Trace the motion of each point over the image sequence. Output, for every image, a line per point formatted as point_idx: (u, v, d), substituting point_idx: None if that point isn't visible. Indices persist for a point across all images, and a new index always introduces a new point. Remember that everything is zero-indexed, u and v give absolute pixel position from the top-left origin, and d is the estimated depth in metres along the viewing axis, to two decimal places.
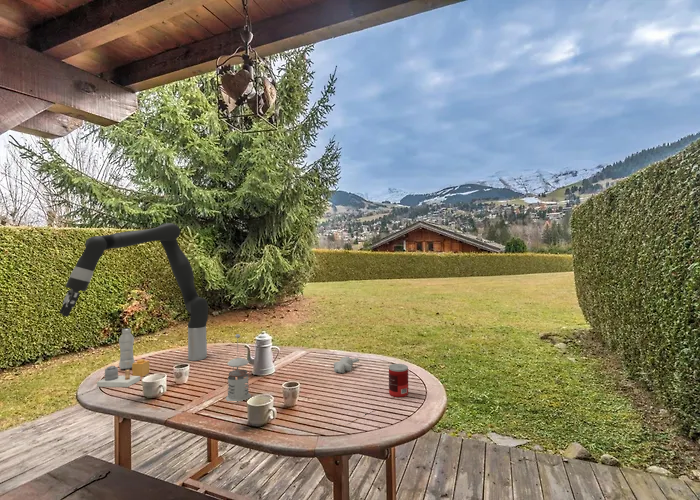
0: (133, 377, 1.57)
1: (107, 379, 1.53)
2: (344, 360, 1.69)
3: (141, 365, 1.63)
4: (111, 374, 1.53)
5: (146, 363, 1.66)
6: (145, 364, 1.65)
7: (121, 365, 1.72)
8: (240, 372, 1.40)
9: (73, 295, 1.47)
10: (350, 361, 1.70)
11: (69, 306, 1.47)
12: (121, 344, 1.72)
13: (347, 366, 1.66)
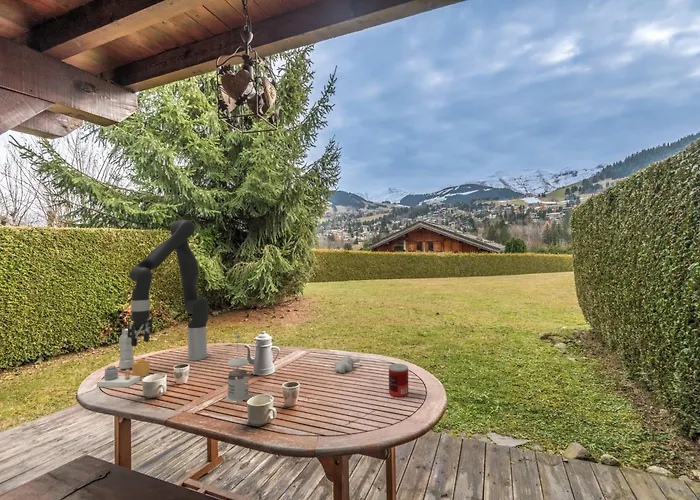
0: (133, 377, 1.57)
1: (107, 379, 1.53)
2: (345, 360, 1.69)
3: (141, 365, 1.63)
4: (111, 374, 1.53)
5: (146, 363, 1.66)
6: (145, 364, 1.65)
7: (121, 365, 1.72)
8: (240, 372, 1.40)
9: (129, 327, 1.59)
10: (351, 361, 1.70)
11: (130, 337, 1.60)
12: (121, 344, 1.72)
13: (348, 366, 1.66)
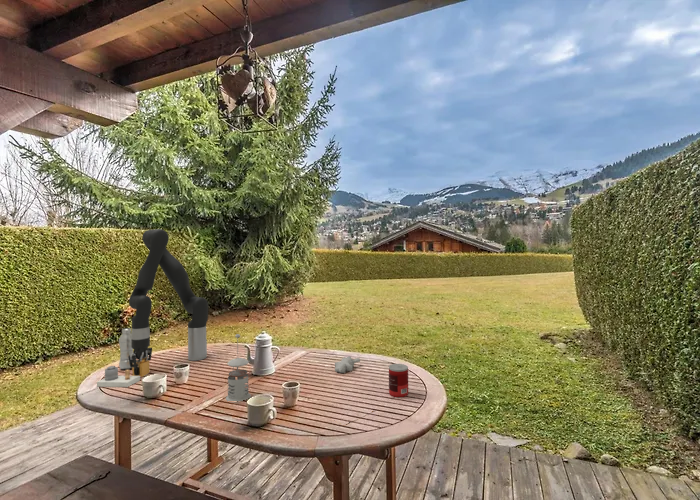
0: (133, 377, 1.57)
1: (107, 379, 1.53)
2: (345, 360, 1.70)
3: (141, 365, 1.63)
4: (111, 374, 1.53)
5: (146, 363, 1.66)
6: (145, 364, 1.65)
7: (121, 365, 1.72)
8: (240, 372, 1.40)
9: (129, 358, 1.59)
10: (351, 361, 1.70)
11: None
12: (121, 344, 1.72)
13: (348, 366, 1.66)
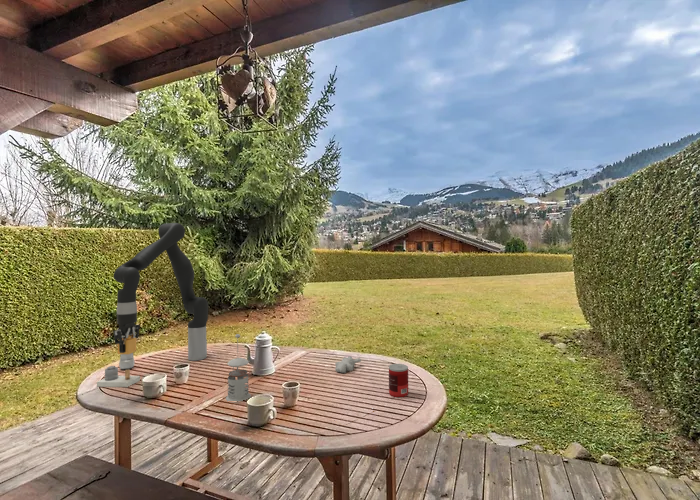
0: (133, 377, 1.57)
1: (107, 379, 1.53)
2: (346, 360, 1.70)
3: (127, 342, 1.52)
4: (111, 374, 1.53)
5: (133, 340, 1.55)
6: (131, 341, 1.54)
7: (121, 365, 1.72)
8: (240, 372, 1.40)
9: (114, 334, 1.48)
10: (352, 361, 1.70)
11: (118, 343, 1.50)
12: None
13: (349, 366, 1.66)
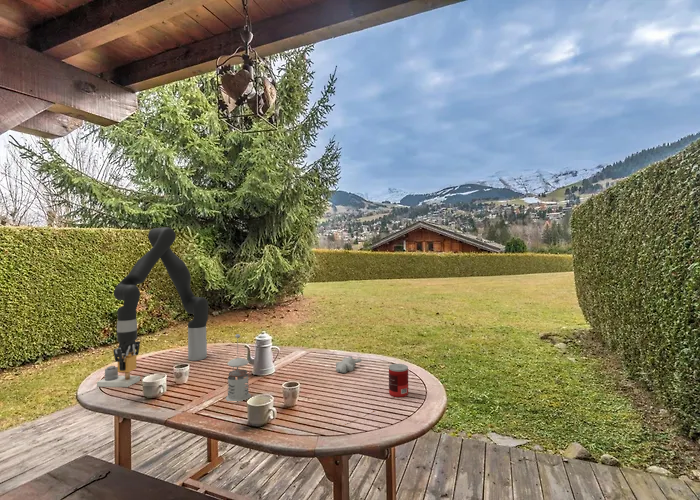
0: (133, 377, 1.57)
1: (107, 379, 1.53)
2: (346, 360, 1.70)
3: (127, 360, 1.52)
4: (111, 374, 1.53)
5: (133, 358, 1.55)
6: (131, 359, 1.54)
7: None
8: (240, 372, 1.40)
9: (114, 352, 1.48)
10: (352, 361, 1.70)
11: (118, 361, 1.50)
12: None
13: (349, 366, 1.66)
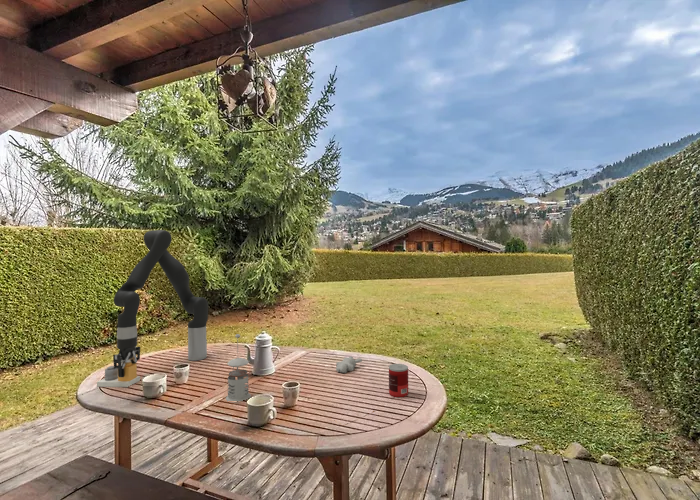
0: None
1: (107, 379, 1.53)
2: (347, 360, 1.70)
3: (127, 369, 1.52)
4: (111, 374, 1.53)
5: (133, 366, 1.55)
6: (132, 368, 1.54)
7: (121, 365, 1.72)
8: (240, 372, 1.40)
9: (114, 358, 1.48)
10: (353, 361, 1.70)
11: (117, 368, 1.49)
12: None
13: (349, 366, 1.66)
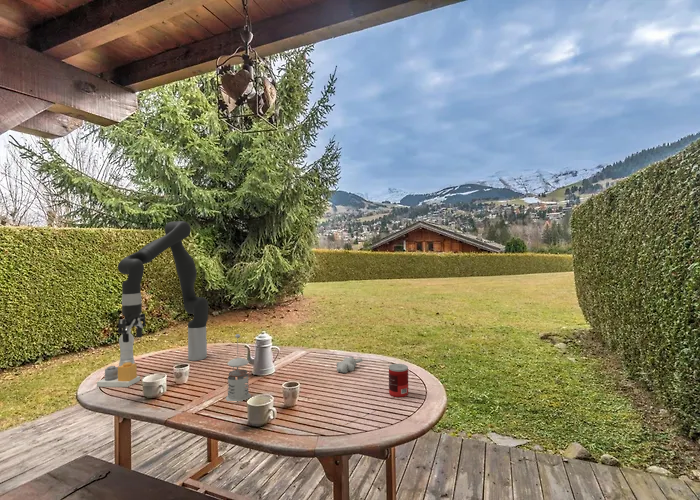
0: None
1: (107, 379, 1.53)
2: (347, 360, 1.70)
3: (127, 369, 1.52)
4: (111, 374, 1.53)
5: (133, 366, 1.55)
6: (132, 368, 1.54)
7: (121, 365, 1.72)
8: (240, 372, 1.40)
9: (119, 322, 1.50)
10: (353, 361, 1.70)
11: (121, 333, 1.50)
12: (121, 344, 1.72)
13: (350, 366, 1.66)
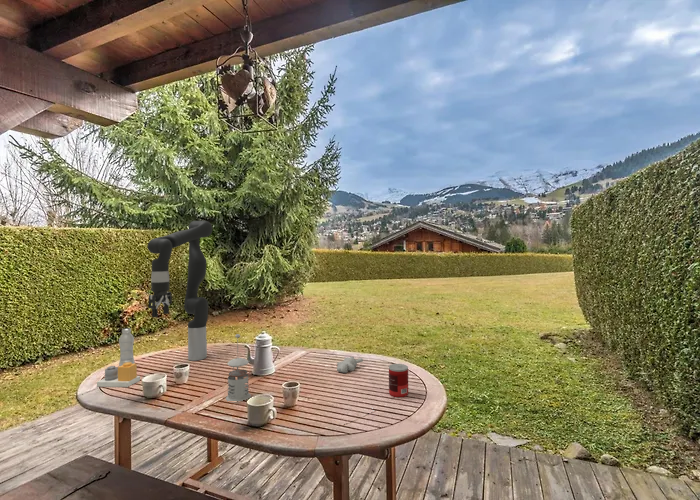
0: None
1: (107, 379, 1.53)
2: (347, 360, 1.70)
3: (127, 369, 1.52)
4: (111, 374, 1.53)
5: (133, 366, 1.55)
6: (132, 368, 1.54)
7: (121, 365, 1.72)
8: (240, 372, 1.40)
9: (149, 298, 1.58)
10: (354, 361, 1.70)
11: (151, 308, 1.59)
12: (121, 344, 1.72)
13: (350, 366, 1.66)
